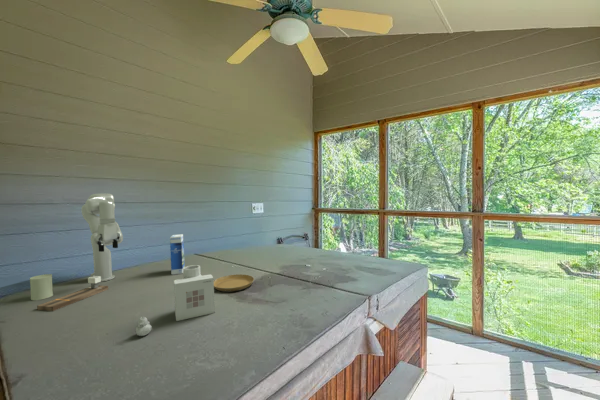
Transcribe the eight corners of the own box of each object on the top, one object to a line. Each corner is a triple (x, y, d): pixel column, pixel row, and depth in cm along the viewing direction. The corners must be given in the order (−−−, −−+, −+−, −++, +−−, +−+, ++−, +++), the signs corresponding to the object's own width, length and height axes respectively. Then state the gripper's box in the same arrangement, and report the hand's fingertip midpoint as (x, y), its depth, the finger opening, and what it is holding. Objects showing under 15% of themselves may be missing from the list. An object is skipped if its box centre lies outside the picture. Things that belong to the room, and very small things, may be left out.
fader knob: (88, 288, 159) (87, 277, 159) (94, 286, 163) (93, 275, 162) (95, 288, 158) (94, 277, 158) (101, 286, 162) (100, 275, 161)
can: (56, 295, 156) (55, 274, 155) (35, 301, 147) (34, 279, 147) (48, 293, 159) (47, 272, 159) (27, 299, 151) (25, 277, 151)
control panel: (176, 321, 119) (174, 275, 119) (173, 306, 136) (172, 265, 135) (215, 312, 127) (213, 269, 126) (208, 299, 143) (206, 261, 143)
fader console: (37, 309, 136) (37, 305, 136) (94, 288, 165) (94, 285, 165) (53, 311, 134) (53, 306, 134) (108, 289, 163) (108, 285, 163)
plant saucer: (223, 297, 147) (223, 290, 146) (205, 286, 165) (205, 280, 165) (262, 285, 162) (261, 280, 162) (241, 277, 181) (241, 272, 180)
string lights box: (182, 273, 191) (181, 236, 190) (170, 275, 189) (169, 237, 188) (184, 268, 204) (183, 233, 203) (173, 269, 202) (172, 234, 201)
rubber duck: (132, 338, 106) (131, 318, 105) (141, 330, 112) (141, 310, 112) (146, 338, 106) (145, 317, 106) (155, 329, 112) (154, 310, 112)
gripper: (114, 219, 176) (115, 246, 177) (88, 223, 159) (90, 252, 160) (124, 219, 175) (125, 246, 176) (99, 223, 158) (101, 253, 159)
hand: (108, 249), depth 168 cm, fingers open, 9 cm apart
